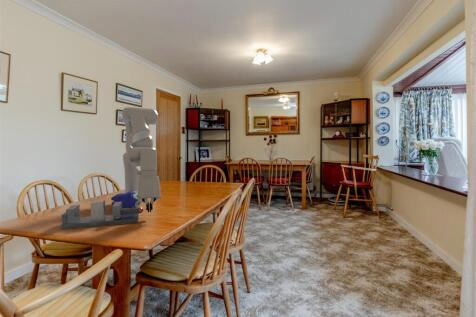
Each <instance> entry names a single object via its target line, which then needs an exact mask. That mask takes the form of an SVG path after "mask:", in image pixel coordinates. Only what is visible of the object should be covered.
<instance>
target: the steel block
mask: <svg viewBox="0 0 476 317" xmlns="http://www.w3.org/2000/svg"><path fill="white" fill-rule="evenodd" d="M105 216H106V199H97V200H95V199H94V200H92V201H91V202H90V217H91V221H93V220H104V218H105Z"/></svg>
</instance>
